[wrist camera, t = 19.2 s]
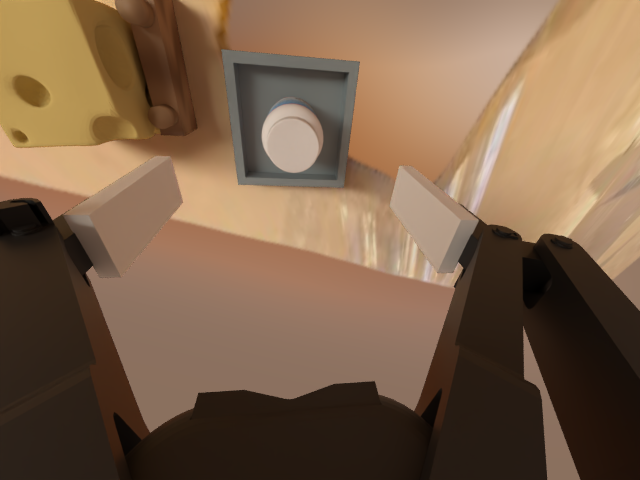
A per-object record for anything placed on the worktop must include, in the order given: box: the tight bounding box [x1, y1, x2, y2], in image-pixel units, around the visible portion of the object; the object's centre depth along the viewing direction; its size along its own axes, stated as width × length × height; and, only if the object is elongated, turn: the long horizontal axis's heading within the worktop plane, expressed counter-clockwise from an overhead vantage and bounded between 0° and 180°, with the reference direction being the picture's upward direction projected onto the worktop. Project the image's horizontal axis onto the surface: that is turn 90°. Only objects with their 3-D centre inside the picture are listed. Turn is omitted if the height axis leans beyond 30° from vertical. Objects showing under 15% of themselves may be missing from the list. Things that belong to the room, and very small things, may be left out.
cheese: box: [0, 0, 161, 148], centre depth 23 cm, size 10×11×10 cm
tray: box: [221, 49, 360, 188], centre depth 30 cm, size 14×14×3 cm
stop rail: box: [115, 0, 197, 136], centre depth 24 cm, size 12×2×6 cm, turn 176°
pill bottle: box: [262, 97, 323, 173], centre depth 26 cm, size 6×6×11 cm
